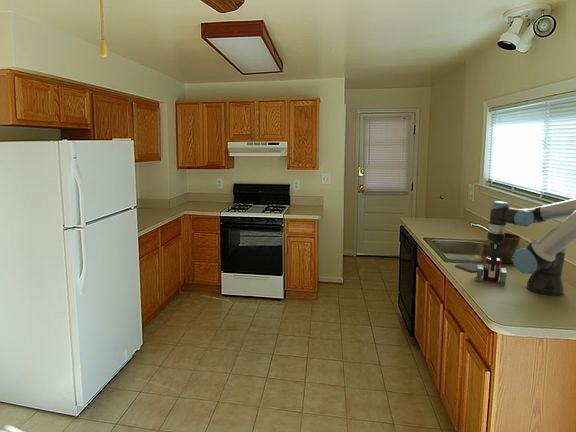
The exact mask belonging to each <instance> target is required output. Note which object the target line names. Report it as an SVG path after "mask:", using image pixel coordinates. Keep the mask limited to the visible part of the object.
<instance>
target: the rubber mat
mask: <svg viewBox="0 0 576 432" xmlns="http://www.w3.org/2000/svg"><path fill="white" fill-rule="evenodd" d="M478 265H479V264H476V263H473V262H465V263H459V264H454V267H455V266H456V268H459V269H460V268H461V270H463V269H464V270H463V271H467V272H469V273H471V274H473V273H477V269H478ZM483 272H484V266H483Z"/></svg>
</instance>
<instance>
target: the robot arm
mask: <svg viewBox="0 0 576 432" xmlns="http://www.w3.org/2000/svg"><path fill="white" fill-rule="evenodd" d="M509 205H510V204H509V202H506V201H500V200H499V201H492V202H491V206H490V214H489V215H490V216H489V223H488V224H487V227H488V232H487V240H489V241H491V242H490V243H489V244H490V245H489V247H490V249H489V256H491V262H489V264H490V267H489V275H488V277H495V270H496V264H497V263H496V262H497V253H498V249H499V244H498V242H499V241H500V242H502V241H504V236H505V234H504V233H506V230H507V223H508V224H511V225H515V226H519V227H524V228H525V227H529V226H531V225H532V224H541V223H545V222H550V221H554V220H560V219H564V220H562V221H561V222H560V223H558V224H557V225H556V226H555V227H554V228H553V229H551V230H550V231H549V232H548V233H547V234H545V235H544V236H543V237H542V238H540V239H539V240H538V239H534V240H533V241H531V242H530V243H528V244H527V245H526V246H525V247H521V248H519V249H516V251H515V253H514V255H513V257H512V262H513V266H514V267H515V269H516V270H517V271H519V272H520V273H522V274H526V275H530V274H531V275H530V276H529V278H528V280H527V283H526V288H527V289H528V290H530V291H531V292H535V293H537V294H543V295H547V296H561V295H564V292H565V289H564V284H563V280H562V279H563V278H562V275H563V267H564V261H565V256H566V248H567V247H568V246H569V245H570V244H571V243H573V242H574V241H575V240H576V198H573V199H572V198H571V199H568V200H563V201H559V202H554V203H551V204H550V203H549V204H546V205H540V206H535V207H530V208H515V207H509ZM492 261H493V262H492Z"/></svg>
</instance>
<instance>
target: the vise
mask: <svg viewBox="0 0 576 432" xmlns="http://www.w3.org/2000/svg"><path fill="white" fill-rule="evenodd" d="M477 265H478V269H477V272H476V282H480V283H481V281H482V277H483V272H484V271H483V267H484V266H483V265H482V264H477ZM507 273H508V271H507V268H505V267H500V273H499V282H500V285H501V286H506V284H507V283H506V282H507V276H508V275H507Z"/></svg>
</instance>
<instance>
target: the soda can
mask: <svg viewBox="0 0 576 432" xmlns="http://www.w3.org/2000/svg"><path fill="white" fill-rule="evenodd" d="M489 262H491V256H490V255H489V256H488V255H487V256H486V257H485V258H484V264H483V265H484V266H483V267H484V271H483V276H482V280H483V281H484V282H486V283H489V284H497V283H498V282H500V268H501V265H502V264H501V263H502V262H501V259H500V258H497V262H496V263H497V264H496V270H495V277H488V275H489V267H490V264H489ZM492 262H493V261H492Z"/></svg>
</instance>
